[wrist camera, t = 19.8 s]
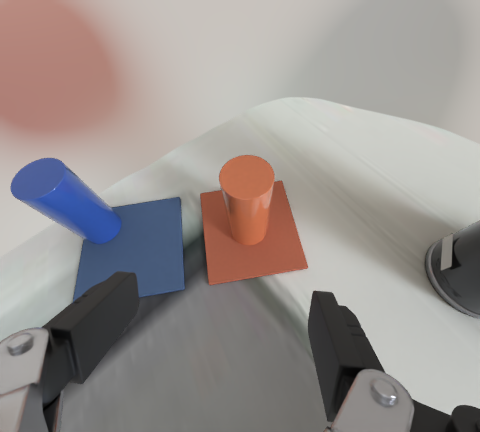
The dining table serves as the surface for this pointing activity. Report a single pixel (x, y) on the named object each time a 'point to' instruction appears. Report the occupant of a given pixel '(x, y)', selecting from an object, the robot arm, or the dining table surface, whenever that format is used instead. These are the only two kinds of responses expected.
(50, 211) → the blue canister
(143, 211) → the blue mat
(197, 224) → the dining table surface
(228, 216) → the terracotta canister
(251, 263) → the terracotta mat
